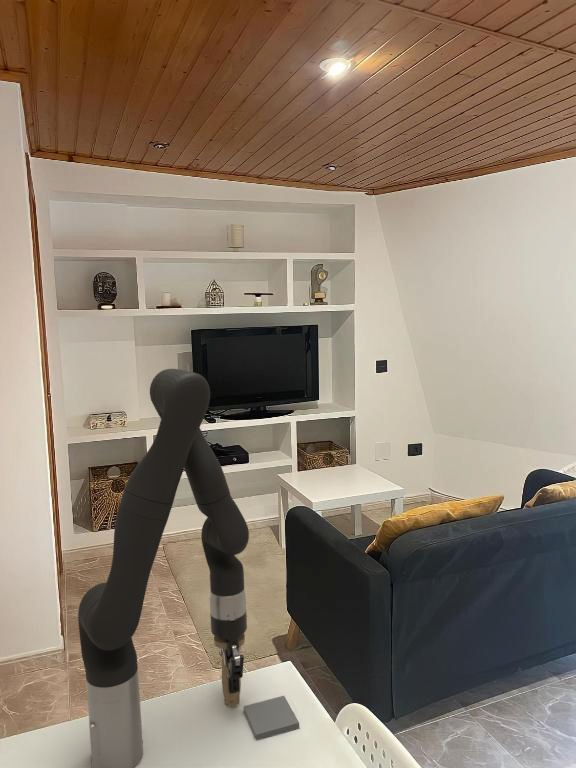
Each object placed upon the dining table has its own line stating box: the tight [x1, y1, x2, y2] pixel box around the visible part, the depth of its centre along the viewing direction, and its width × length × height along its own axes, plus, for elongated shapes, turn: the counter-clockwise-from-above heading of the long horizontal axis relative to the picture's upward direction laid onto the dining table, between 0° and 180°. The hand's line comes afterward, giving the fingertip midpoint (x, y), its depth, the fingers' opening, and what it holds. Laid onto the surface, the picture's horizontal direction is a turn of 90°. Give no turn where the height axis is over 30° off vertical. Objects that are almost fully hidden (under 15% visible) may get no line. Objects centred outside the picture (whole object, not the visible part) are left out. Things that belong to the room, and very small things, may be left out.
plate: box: [242, 695, 300, 741], centre depth 120 cm, size 9×9×1 cm
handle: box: [213, 633, 246, 708], centre depth 125 cm, size 5×6×15 cm
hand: (231, 685), depth 125 cm, fingers closed on handle, 4 cm apart
